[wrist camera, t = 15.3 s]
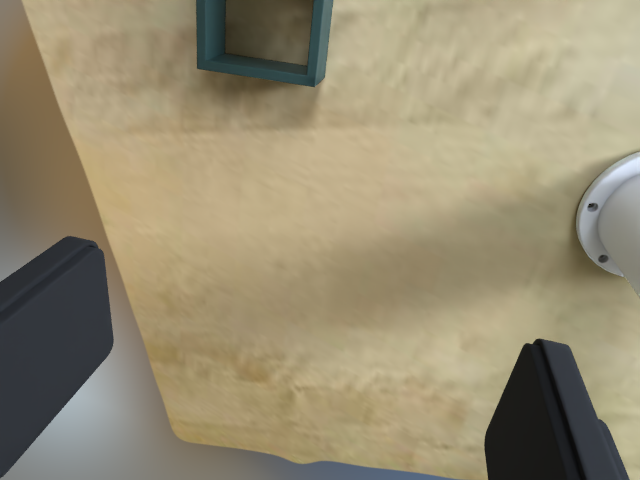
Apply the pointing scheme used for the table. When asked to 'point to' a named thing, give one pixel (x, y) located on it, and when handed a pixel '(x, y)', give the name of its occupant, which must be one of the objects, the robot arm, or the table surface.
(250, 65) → the tray
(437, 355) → the table surface
